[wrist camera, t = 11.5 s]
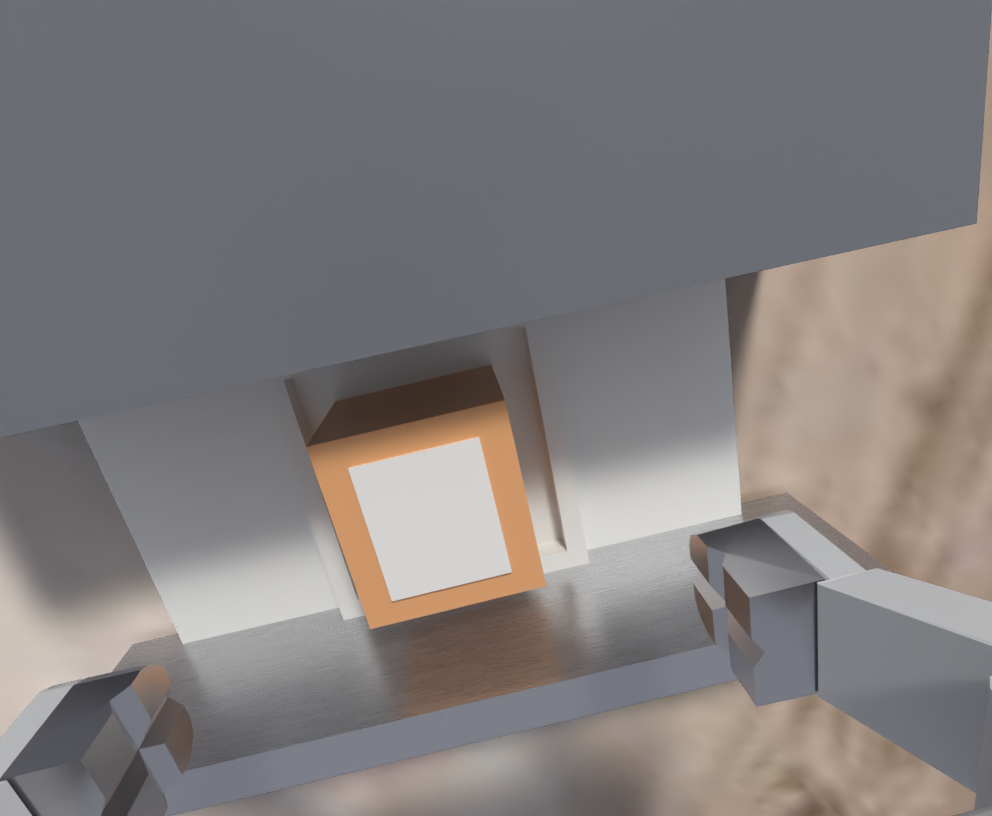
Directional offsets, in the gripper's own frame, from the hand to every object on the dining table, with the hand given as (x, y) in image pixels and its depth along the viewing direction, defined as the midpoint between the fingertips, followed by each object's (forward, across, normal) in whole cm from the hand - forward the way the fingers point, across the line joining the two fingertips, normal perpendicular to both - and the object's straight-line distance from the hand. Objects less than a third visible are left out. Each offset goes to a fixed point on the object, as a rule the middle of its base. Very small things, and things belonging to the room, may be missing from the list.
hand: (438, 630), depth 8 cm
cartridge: (+8, 0, +1) cm, 8 cm away
